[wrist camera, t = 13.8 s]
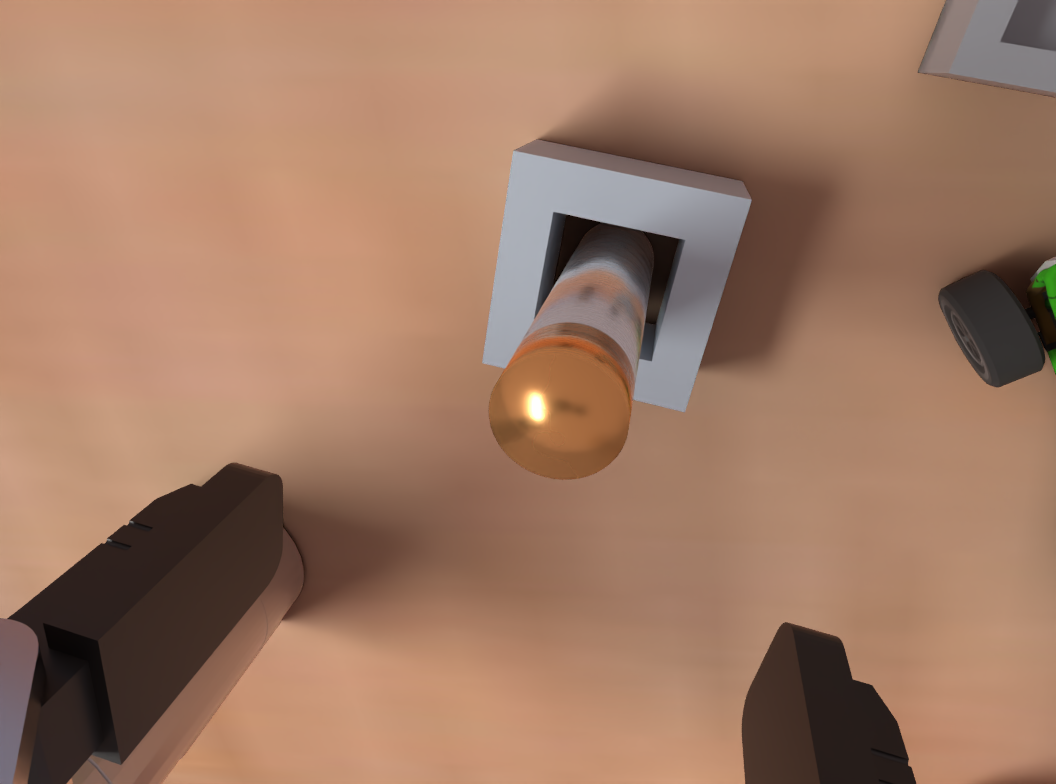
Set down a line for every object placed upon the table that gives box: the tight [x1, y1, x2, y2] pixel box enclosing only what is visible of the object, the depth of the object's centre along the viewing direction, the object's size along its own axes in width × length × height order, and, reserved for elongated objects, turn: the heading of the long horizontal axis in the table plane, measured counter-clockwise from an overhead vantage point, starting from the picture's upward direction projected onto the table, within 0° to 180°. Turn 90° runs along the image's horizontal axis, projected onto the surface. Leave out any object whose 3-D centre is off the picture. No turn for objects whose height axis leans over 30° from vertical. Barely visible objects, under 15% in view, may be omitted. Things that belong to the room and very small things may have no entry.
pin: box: [489, 223, 654, 480], centre depth 21 cm, size 3×3×14 cm
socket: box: [482, 139, 752, 412], centre depth 26 cm, size 8×8×4 cm
